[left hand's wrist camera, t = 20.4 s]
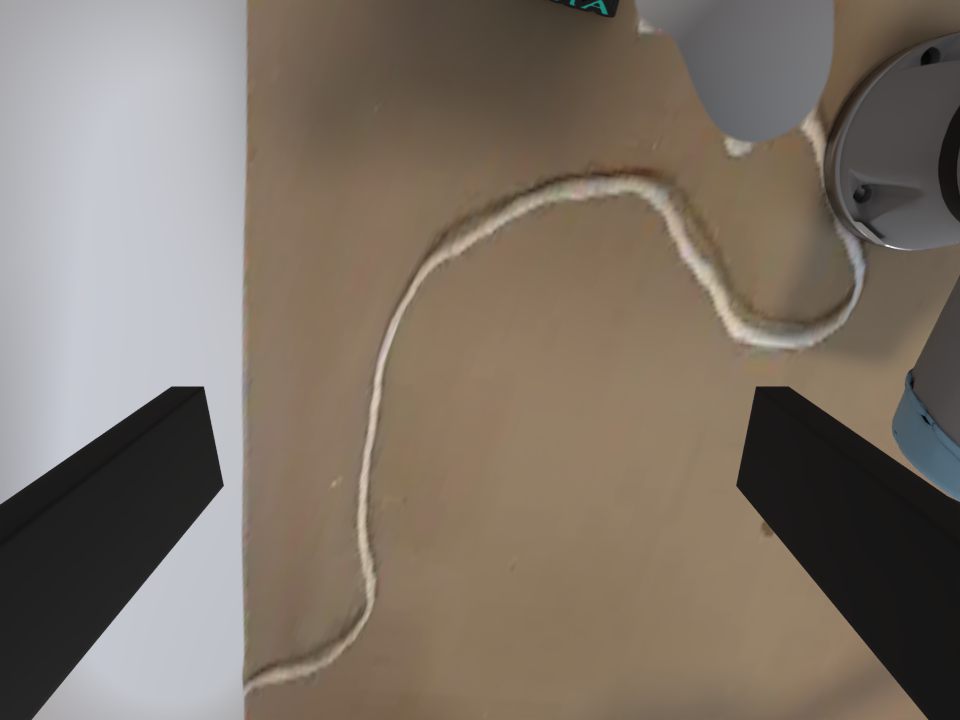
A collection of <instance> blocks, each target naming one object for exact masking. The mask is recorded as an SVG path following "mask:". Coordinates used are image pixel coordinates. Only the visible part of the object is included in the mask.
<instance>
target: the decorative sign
mask: <svg viewBox="0 0 960 720" xmlns="http://www.w3.org/2000/svg"><path fill="white" fill-rule="evenodd" d="M550 1H552V2H556V3H564V4H565V5H567V6H569V7H572V8H577V9H580V10H584V11H592V10H593V9H595V12H596V13H597V14H599V15H602V16H606V17H614V16H615V13H616V10H617V6H618V2H619V0H550Z"/></svg>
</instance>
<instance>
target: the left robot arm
mask: <svg viewBox="0 0 960 720" xmlns="http://www.w3.org/2000/svg"><path fill="white" fill-rule="evenodd" d="M825 183H826V190H827V194H828V198H829V201H830V203H831V206H832V208H833V210H834V212H835V214H836V216H837V217H838V218H839V220H840V221H841V223H842V224H843V225H844V226H845V227H846V228H847V229H848V230H849V231H851V232H852V233H853V234H854V235H856V236H857V237H859V238H861V239H863V240H865V241H867V242H870V243H872V244H876V245H880V246H884V247H890V248H896V249H903V250H925V249H931V248H938V247H943V246H948V245H953V244H957V243H960V32H955V33H951V34H947V35H944V36H940V37H937V38H934V39H930V40H927V41H924V42H921V43H918V44H916V45H913V46H911V47H909V48H907V49H905V50H903V51H901V52H899V53H897V54H896V55H894V56H893V57H891V58H890V59H888V60H887V61H885V62H884V63H883V64H881V65H880V66H879V67H878V68H877V69H876V70H874V71H873V72H872V73H871V74H870V75H869V76H868V77H867V78H866V79H865V80H864V81H863V82H862V83H861V85H860V86H859V87H858V88H857V89H856V90H855V92H854V93H853V95H852V96H851V97H850V99H849V100H848V102H847V103H846V105H845V106H844V108H843V110H842V112H841V114H840V115H839V117H838V119H837V121H836V124H835V126H834V129H833V131H832V134H831V137H830V140H829V144H828V149H827V153H826V161H825ZM892 432H893V435H894V438H895V440H896V442H897V444H898V445H899V448H900V451H901V452H902V453H903V455H904V456H905V457H906V458H907V460H908V461H909V462H910V463H911V464H912V465H913V466H914V467H915V468H916V469H917V470H918V471H919V472H920V473H922V474H923V475H924V476H925V477H926V478H928V479H929V480H930V481H931V482H933V483H934V484H935V485H937V486H938V487H939V488H941V489H942V490H944V491H945V492H946V493H948V494H949V495H951V496H952V497H954V498H955V499H957V500H959V501H960V276H959V278H958V280H957V282H956V284H955V286H954V288H953V290H952V292H951V294H950V296H949V298H948V300H947V302H946V304H945V306H944V308H943V310H942V312H941V314H940V316H939V318H938V320H937V322H936V324H935V326H934V328H933V330H932V332H931V334H930V336H929V338H928V340H927V342H926V344H925V346H924V348H923V350H922V352H921V354H920V356H919V358H918V360H917V362H916V364H915V366H914V368H913V369H911V370H910V371H909V372H908V374H907V376H906V378H905V391H904V393H903V396H902V398H901V400H900V403H899V405H898V408H897V410H896V412H895V415H894V417H893V421H892ZM223 486H224V485H223V480H222V475H221V470H220V465H219V460H218V455H217V450H216V445H215V440H214V435H213V430H212V425H211V420H210V415H209V410H208V405H207V400H206V395H205V390H204V387H170V388H169V389H167V390H166V391H164V392H163V393H162V394H160V395H159V396H157V397H156V398H154V399H153V400H151V401H150V402H149V403H147V404H146V405H144V406H143V407H141V408H140V409H138V410H137V411H135V412H134V413H133V414H131V415H130V416H128V417H127V418H125V419H124V420H122V421H121V422H119V423H118V424H117V425H115V426H114V427H112V428H111V429H109V430H108V431H106V432H105V433H104V434H102V435H101V436H99V437H98V438H96V439H95V440H93V441H92V442H91V443H89V444H88V445H86V446H85V447H83V448H82V449H80V450H79V451H77V452H76V453H75V454H73V455H72V456H70V457H69V458H67V459H66V460H64V461H63V462H61V463H60V464H59V465H57V466H56V467H54V468H53V469H51V470H50V471H48V472H47V473H46V474H44V475H43V476H41V477H40V478H38V479H37V480H35V481H34V482H32V483H31V484H30V485H28V486H27V487H25V488H24V489H22V490H21V491H19V492H18V493H17V494H15V495H14V496H12V497H11V498H9V499H8V500H6V501H5V502H3V503H2V504H0V720H32V719H33V717H34V716H35V715H36V714H37V712H38V711H39V710H40V709H41V708H42V706H43V705H44V704H45V703H46V701H47V700H48V699H49V698H50V697H51V695H52V694H53V693H54V692H55V691H56V689H57V688H58V687H59V686H60V684H61V683H62V682H63V681H64V680H65V678H66V677H67V676H68V675H69V674H70V672H71V671H72V670H73V669H74V667H75V666H76V665H77V664H78V663H79V661H80V660H81V659H82V658H83V656H84V655H85V654H86V653H87V652H88V650H89V649H90V648H91V647H92V646H93V644H94V643H95V642H96V641H97V639H98V638H99V637H100V636H101V635H102V633H103V632H104V631H105V630H106V628H107V627H108V626H109V625H110V624H111V622H112V621H113V620H114V619H115V618H116V616H117V615H118V614H119V613H120V611H121V610H122V609H123V608H124V607H125V605H126V604H127V603H128V602H129V600H130V599H131V598H132V597H133V596H134V594H135V593H136V592H137V591H138V590H139V588H140V587H141V586H142V585H143V583H144V582H145V581H146V580H147V579H148V577H149V576H150V575H151V574H152V573H153V571H154V570H155V569H156V568H157V566H158V565H159V564H160V563H161V562H162V560H163V559H164V558H165V557H166V555H167V554H168V553H169V552H170V551H171V549H172V548H173V547H174V546H175V545H176V543H177V542H178V541H179V540H180V538H181V537H182V536H183V535H184V533H185V532H186V531H187V530H188V529H189V527H190V526H191V525H192V524H193V523H194V521H195V520H196V519H197V518H198V516H199V515H200V514H201V513H202V512H203V510H204V509H205V508H206V507H207V506H208V504H209V503H210V502H211V501H212V499H213V498H214V497H215V496H216V495H217V493H218V492H219V491H220V490H221V489H222V487H223ZM736 486H737V487H738V489H739V490H740V491H741V492H742V493H743V495H744V496H745V497H746V498H747V499H748V501H749V502H750V503H751V504H752V506H753V507H754V508H755V509H756V510H757V512H758V513H759V514H760V515H761V517H762V518H763V519H764V520H765V521H766V523H767V524H768V525H769V526H770V527H771V529H772V530H773V531H774V532H775V534H776V535H777V536H778V537H779V538H780V540H781V541H782V542H783V543H784V545H785V546H786V547H787V548H788V549H789V551H790V552H791V553H792V554H793V555H794V557H795V558H796V559H797V560H798V562H799V563H800V564H801V565H802V566H803V568H804V569H805V570H806V571H807V573H808V574H809V575H810V576H811V577H812V579H813V580H814V581H815V582H816V583H817V585H818V586H819V587H820V588H821V590H822V591H823V592H824V593H825V594H826V596H827V597H828V598H829V599H830V600H831V602H832V603H833V604H834V605H835V607H836V608H837V609H838V610H839V611H840V613H841V614H842V615H843V616H844V618H845V619H846V620H847V621H848V622H849V624H850V625H851V626H852V627H853V628H854V630H855V631H856V632H857V633H858V635H859V636H860V637H861V638H862V639H863V641H864V642H865V643H866V644H867V646H868V647H869V648H870V649H871V650H872V652H873V653H874V654H875V655H876V656H877V658H878V659H879V660H880V661H881V663H882V664H883V665H884V666H885V667H886V669H887V670H888V671H889V672H890V674H891V675H892V676H893V677H894V678H895V680H896V681H897V682H898V683H899V684H900V686H901V687H902V688H903V689H904V691H905V692H906V693H907V694H908V695H909V697H910V698H911V699H912V700H913V702H914V703H915V704H916V705H917V706H918V708H919V709H920V710H921V711H922V712H923V714H924V715H925V716H926V717H927V719H928V720H960V502H958V501H956V500H954V499H952V498H950V497H948V496H946V495H945V494H943V493H942V492H941V491H939V490H938V489H936V488H935V487H933V486H932V485H930V484H929V483H928V482H926V481H925V480H923V479H922V478H920V477H919V476H917V475H916V474H914V473H913V472H912V471H910V470H909V469H907V468H906V467H904V466H903V465H901V464H900V463H899V462H897V461H896V460H894V459H893V458H891V457H890V456H888V455H887V454H885V453H884V452H883V451H881V450H880V449H878V448H877V447H875V446H874V445H872V444H871V443H870V442H868V441H867V440H865V439H864V438H862V437H861V436H859V435H858V434H856V433H855V432H854V431H852V430H851V429H849V428H848V427H846V426H845V425H843V424H842V423H841V422H839V421H838V420H836V419H835V418H833V417H832V416H830V415H829V414H827V413H826V412H825V411H823V410H822V409H820V408H819V407H817V406H816V405H814V404H813V403H812V402H810V401H809V400H807V399H806V398H804V397H803V396H801V395H800V394H798V393H797V392H796V391H794V390H793V389H791V388H790V387H756V390H755V395H754V400H753V405H752V410H751V415H750V420H749V425H748V430H747V435H746V440H745V445H744V450H743V455H742V460H741V465H740V470H739V475H738V480H737V485H736Z"/></svg>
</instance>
